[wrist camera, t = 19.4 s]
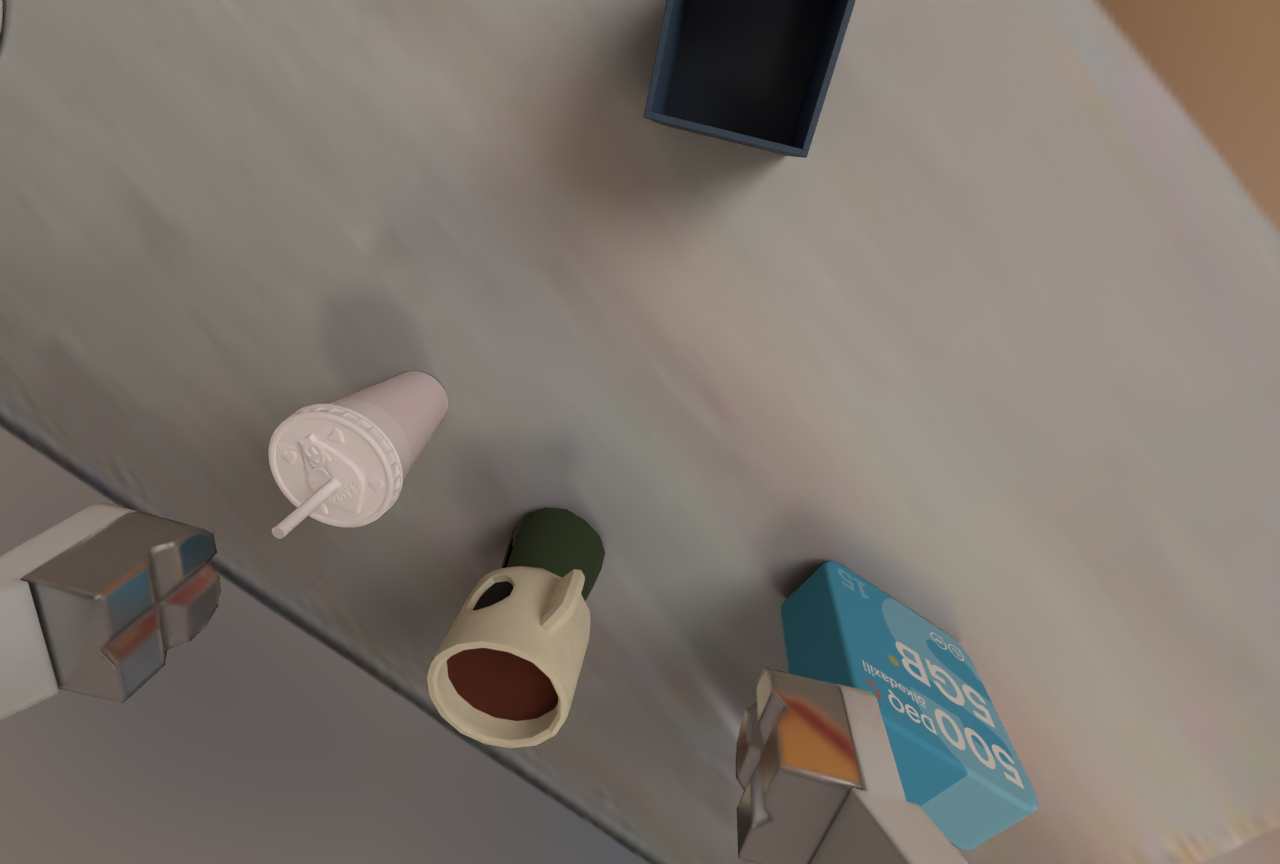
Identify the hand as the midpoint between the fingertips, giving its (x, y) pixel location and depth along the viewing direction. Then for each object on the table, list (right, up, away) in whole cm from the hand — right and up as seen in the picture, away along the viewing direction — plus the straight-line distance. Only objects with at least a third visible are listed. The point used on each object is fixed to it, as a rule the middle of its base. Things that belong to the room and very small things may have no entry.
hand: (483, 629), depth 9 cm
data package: (+18, -9, +32) cm, 38 cm away
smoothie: (-11, +5, +29) cm, 32 cm away
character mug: (-3, -4, +33) cm, 33 cm away
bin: (+6, +16, +18) cm, 25 cm away
